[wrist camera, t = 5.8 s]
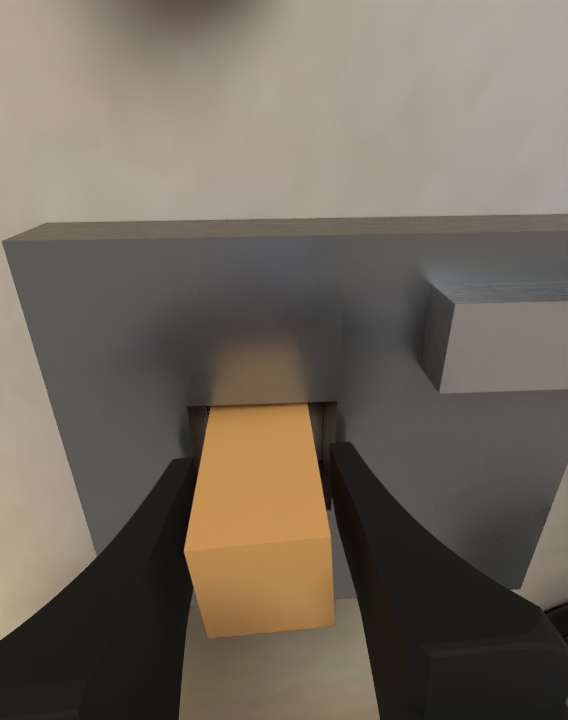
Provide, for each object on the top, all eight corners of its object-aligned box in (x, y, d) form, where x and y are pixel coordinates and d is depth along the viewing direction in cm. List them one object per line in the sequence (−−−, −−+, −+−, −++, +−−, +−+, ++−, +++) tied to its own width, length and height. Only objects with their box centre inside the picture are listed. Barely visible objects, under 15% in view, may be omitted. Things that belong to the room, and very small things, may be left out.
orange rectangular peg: (301, 371, 15) (330, 536, 9) (306, 440, 16) (335, 625, 10) (215, 379, 15) (183, 551, 9) (227, 448, 16) (208, 638, 10)
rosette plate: (590, 213, 13) (710, 242, 10) (491, 539, 19) (541, 626, 16) (45, 223, 12) (-37, 256, 9) (130, 556, 19) (101, 652, 15)
